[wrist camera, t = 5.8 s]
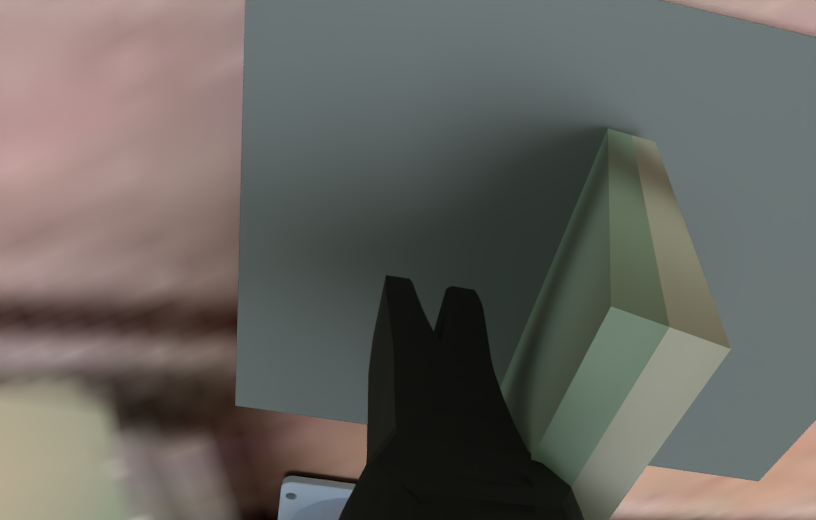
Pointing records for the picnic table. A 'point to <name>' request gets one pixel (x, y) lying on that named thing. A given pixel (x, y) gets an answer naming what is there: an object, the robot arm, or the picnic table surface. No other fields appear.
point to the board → (520, 188)
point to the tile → (615, 332)
